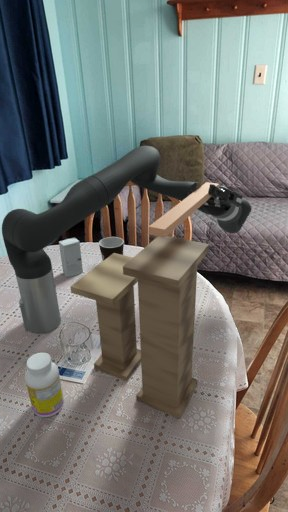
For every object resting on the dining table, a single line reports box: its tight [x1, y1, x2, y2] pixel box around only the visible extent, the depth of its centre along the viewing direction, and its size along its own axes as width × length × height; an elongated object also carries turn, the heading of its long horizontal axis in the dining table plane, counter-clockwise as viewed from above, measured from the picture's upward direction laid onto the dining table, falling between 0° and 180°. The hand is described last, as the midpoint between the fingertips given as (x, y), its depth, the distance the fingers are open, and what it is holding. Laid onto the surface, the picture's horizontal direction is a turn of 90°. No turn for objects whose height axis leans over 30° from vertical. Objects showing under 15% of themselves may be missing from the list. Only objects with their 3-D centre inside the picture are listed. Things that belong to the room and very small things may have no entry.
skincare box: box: [58, 237, 84, 278], centre depth 123 cm, size 6×4×12 cm
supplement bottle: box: [24, 352, 65, 418], centre depth 73 cm, size 7×7×13 cm
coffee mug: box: [98, 236, 125, 262], centre depth 127 cm, size 12×9×10 cm
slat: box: [148, 181, 220, 238], centre depth 71 cm, size 28×3×2 cm, turn 151°
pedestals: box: [70, 235, 210, 420], centre depth 75 cm, size 18×24×34 cm
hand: (202, 187), depth 76 cm, fingers closed on slat, 3 cm apart
